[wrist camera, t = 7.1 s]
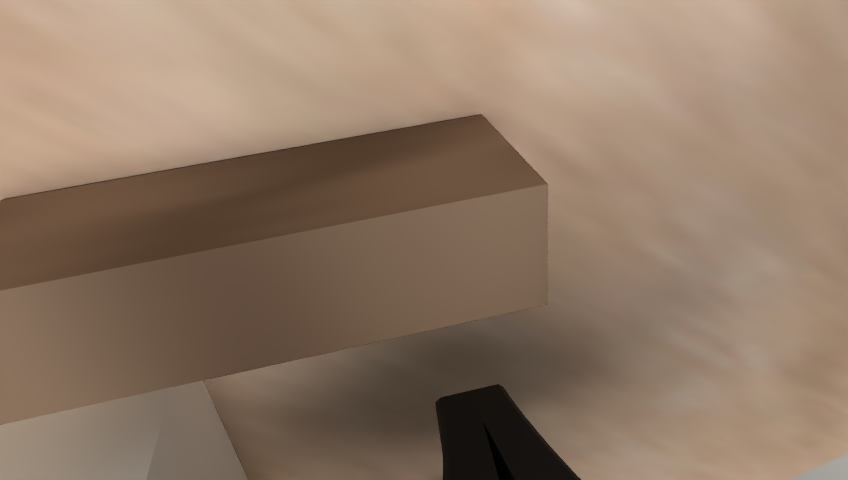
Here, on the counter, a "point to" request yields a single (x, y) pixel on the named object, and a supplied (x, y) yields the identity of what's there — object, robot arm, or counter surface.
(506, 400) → the robot arm
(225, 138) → the counter surface
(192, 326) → the parallel wooden rails
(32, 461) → the off-white block
